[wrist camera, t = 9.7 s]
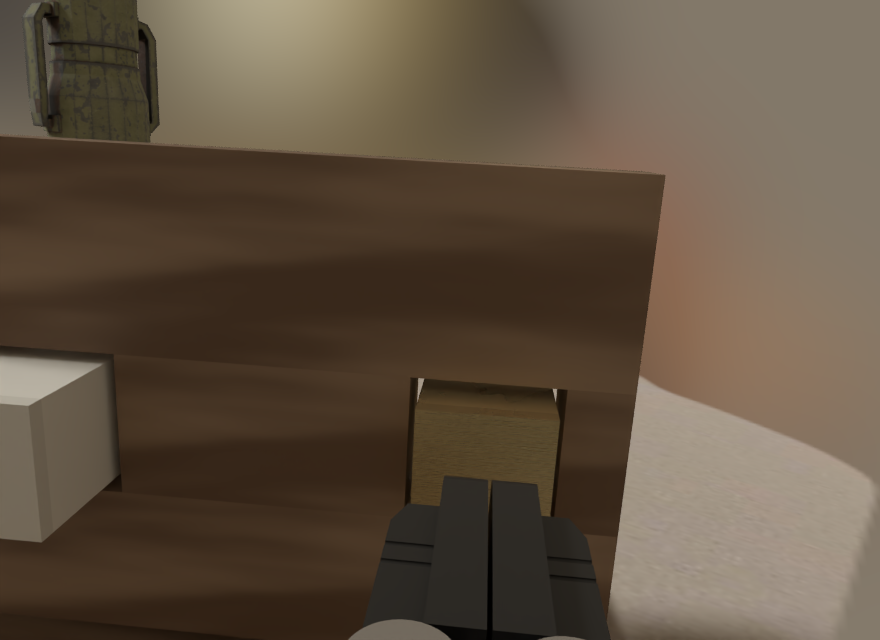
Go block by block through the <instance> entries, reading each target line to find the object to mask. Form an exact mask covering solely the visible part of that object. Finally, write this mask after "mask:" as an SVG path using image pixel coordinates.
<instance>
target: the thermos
mask: <svg viewBox="0 0 880 640" xmlns="http://www.w3.org/2000/svg"><path fill="white" fill-rule="evenodd" d="M43 17H44V18H46V25H47V38H48V44H49V45H51V58H52V61H50V62H49V64H50V77H49V80H48V84H47V77H46V64H45V52H44V40H43V26H42V19H43ZM22 22H23V35H24V46H25V58H26V69H27V81H28V91H29V102H30V109H31V115H32V119H33V124H34V125H35V126H41V127H44V131H47V134H48V137H59V138H76V139H93V140H110V141H128V142H145V143H150V136H151V133H152V132H153V131H154V130H155V129H156V128H157V126H159V105H158V82H157V57H156V40H155V38H154V36H153V34H152V32H151V31H150V28H149V27H148V25H147V24H144V23H142V22H140V21H138V18H137V0H45V2H44V3H31V5H30V6H29V8H28V9H27V11H26V12H25V14H24V15H23V17H22ZM137 53H138V65H139V69H138V65H137Z"/></svg>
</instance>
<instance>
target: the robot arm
mask: <svg viewBox="0 0 880 640" xmlns="http://www.w3.org/2000/svg"><path fill="white" fill-rule="evenodd" d="M348 640H611V639H610V635H609V630H608V626H607V622H606V618H605V613H604V609H603V605H602V601H601V596H600V592H599V588H598V584H596V575H595V571H594V566H593V565H592V558H591V554H590V549H589V545H588V541H587V538H586V537H585V536H584V535H583V534H582V532H581V531H580V530H579V529H578V528H577V527H576V526H575V525H574V523H573V522H572V521H571V520H570V519H569V518H559V517H549V516H541V508H540V501H539V493H538V486H537V484H532V483H521V482H510V481H500V480H492V482H491V490H490V501H489V511H488V480H487V479H477V478H466V477H455V476H444V478H443V485H442V493H441V500H440V506H432V505H421V504H411V503H408V504H407V505H406V506H405V507H404V508H403V509H402V510H400V511H399V512H398V513H397V514H396V515H395V516H394V517H393V518H392V519H391V520H390V524H389V528H388V531H387V535H386V539H385V545H384V547H383V551H382V554H381V559H380V562H379V566H378V570H377V574H376V577H375V581H374V585H373V589H372V593H371V597H370V600H369V604H368V608H367V612H366V616H365V620H364V623H363V627H362V629H361V630H359V631H358V632H356V633H355V634H354V635H353V636H351V637H350V638H349V639H348Z"/></svg>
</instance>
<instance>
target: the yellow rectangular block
mask: <svg viewBox="0 0 880 640" xmlns="http://www.w3.org/2000/svg"><path fill="white" fill-rule="evenodd" d="M559 426H560V419H559V415H558V410H557V406H556V402H555V398H554V393H553V389H552V388H540V387H527V386H514V385H502V384H489V383H476V382H463V381H450V380H437V379H424V382H423V386H422V389H421V392H420V395H419V399H418V402H417V405H416V409H415V425H414V445H413V465H412V485H411V504H421V505H432V506H440V500H441V493H442V485H443V478H444V476H455V477H466V478H477V479H487V480H488V511H489V501H490V490H491V482H492V480H500V481H510V482H521V483H532V484H537V486H538V493H539V501H540V508H541V516H549V517H550V512H551V502H552V493H553V483H554V473H555V464H556V454H557V445H558V435H559Z"/></svg>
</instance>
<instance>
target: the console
mask: <svg viewBox="0 0 880 640" xmlns="http://www.w3.org/2000/svg"><path fill="white" fill-rule="evenodd" d="M664 182H665V175H661V174H656V173H650V172H642V171H641V172H640V171H624V170H607V169H591V168H590V169H589V168H574V167H556V166H539V165H522V164H504V163H488V162H470V161H452V160H436V159H419V158H402V157H385V156H368V155H349V154H333V153H315V152H299V151H282V150H264V149H248V148H230V147H213V146H196V145H179V144H162V143H145V142H128V141H110V140H93V139H76V138H59V137H41V136H25V135H24V136H23V135H6V134H0V346H13V347H26V348H39V349H52V350H64V351H77V352H90V353H103V354H113V355H114V371H115V387H116V402H117V418H118V434H119V449H120V465H121V474H119V475H118V476H117V477H116V478H115V479H114V480H113V481H111V482H110V483H109V484H108V485H107V486H106V487H105V488H103V489H102V490H101V491H100V492H99V493H98V494H97V495H95V496H94V497H93V498H92V499H91V500H90V501H89V502H87V503H86V504H85V505H84V506H83V507H82V508H81V509H79V510H78V511H77V512H76V513H75V514H74V515H73V516H71V517H70V518H69V519H68V520H67V521H66V522H65V523H63V524H62V525H61V526H60V527H59V528H58V529H57V530H55V531H54V532H53V533H52V534H51V535H50V536H49V537H47V538H46V539H45V540H44V541H43V542H32V541H21V540H11V539H1V538H0V640H348V639H349V638H350V637H351V636H353V635H354V634H355V633H356V632H358V631H359V630H361V629H362V627H363V623H364V620H365V616H366V612H367V608H368V604H369V600H370V597H371V593H372V589H373V585H374V581H375V577H376V574H377V570H378V566H379V562H380V559H381V554H382V551H383V547H384V545H385V539H386V535H387V531H388V528H389V524H390V520H391V519H392V518H393V517H394V516H395V515H396V514H397V513H398V512H399V511H400V510H402V509H403V508H404V507H405V506H406V505H407V504H408V503H411V485H412V465H413V445H414V425H415V409H416V405H417V393H418V378H424V379H437V380H450V381H463V382H476V383H489V384H502V385H514V386H527V387H540V388H553V389H557V397H556V406H557V410H558V415H559V419H560V426H559V435H558V445H557V454H556V464H555V473H554V483H553V493H552V502H551V512H550V517H559V518H569V519H570V520H571V521H572V522H573V523H574V525H575V526H576V527H577V528H578V529H579V530H580V531H581V532H582V534H583V535H584V536H585V537H586V538H587V541H588V545H589V549H590V554H591V558H592V565H593V566H594V571H595V575H596V584H598V588H599V592H600V596H601V601H602V605H603V609H604V613H605V618H606V620H607V613H608V605H609V598H610V590H611V583H612V575H613V567H614V560H615V552H616V545H617V537H618V530H619V522H620V515H621V507H622V499H623V492H624V484H625V477H626V469H627V462H628V454H629V447H630V439H631V432H632V424H633V416H634V409H635V401H636V394H637V386H638V379H639V371H640V364H641V355H642V348H643V340H644V333H645V325H646V318H647V311H648V302H649V295H650V288H651V280H652V273H653V265H654V257H655V250H656V243H657V235H658V228H659V220H660V212H661V205H662V197H663V189H664Z"/></svg>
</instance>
